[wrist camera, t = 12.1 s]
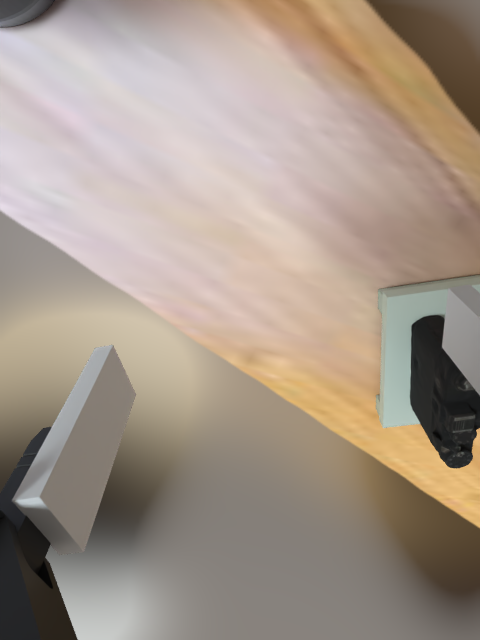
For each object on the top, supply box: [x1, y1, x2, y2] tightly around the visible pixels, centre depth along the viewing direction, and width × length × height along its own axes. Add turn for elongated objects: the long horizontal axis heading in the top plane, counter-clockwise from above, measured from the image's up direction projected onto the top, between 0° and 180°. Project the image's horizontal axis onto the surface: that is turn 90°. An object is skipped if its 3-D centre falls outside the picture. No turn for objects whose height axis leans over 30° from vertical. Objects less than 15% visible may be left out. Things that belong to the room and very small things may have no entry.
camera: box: [410, 315, 480, 468], centre depth 39 cm, size 14×11×10 cm
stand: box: [376, 275, 480, 428], centre depth 44 cm, size 19×16×3 cm
